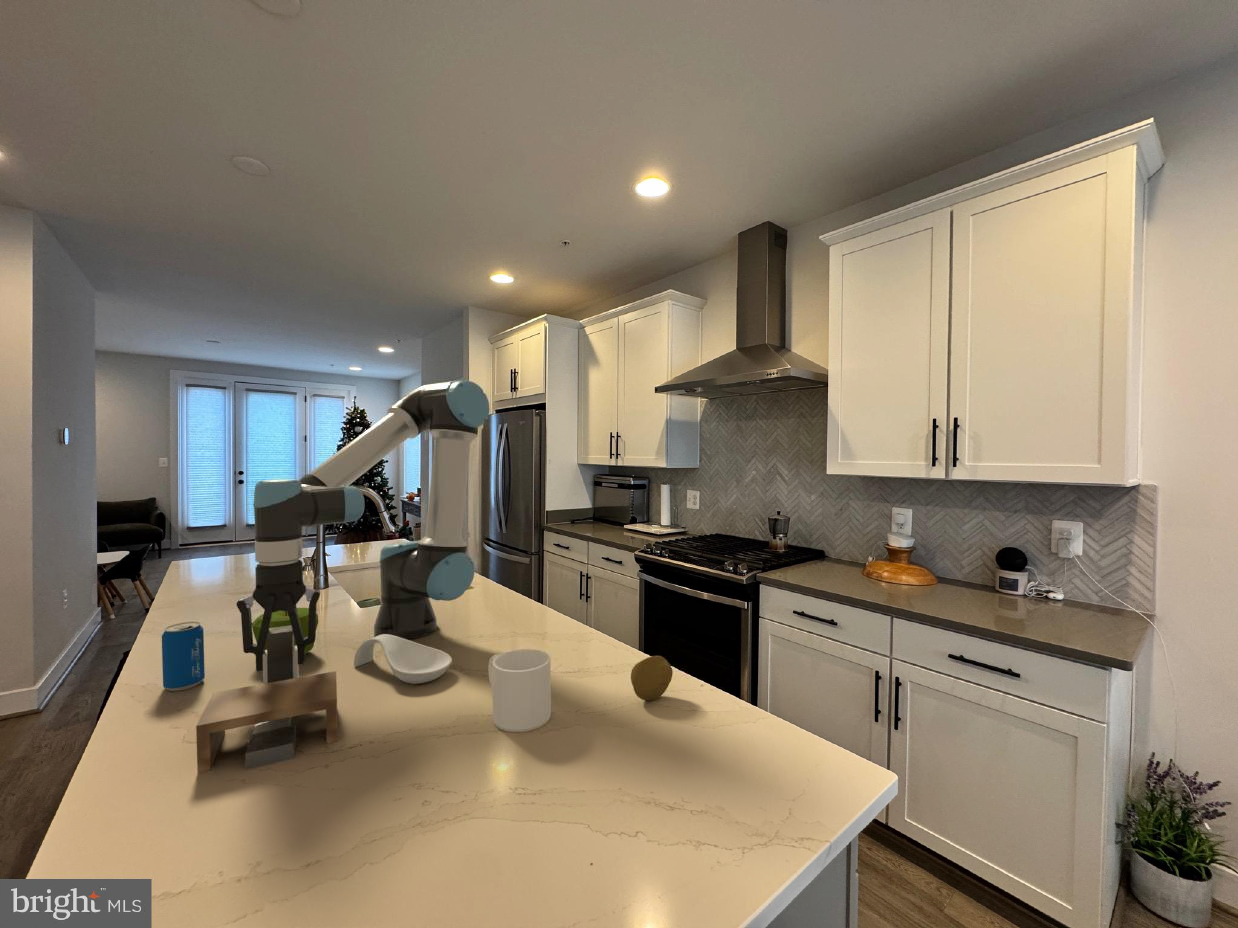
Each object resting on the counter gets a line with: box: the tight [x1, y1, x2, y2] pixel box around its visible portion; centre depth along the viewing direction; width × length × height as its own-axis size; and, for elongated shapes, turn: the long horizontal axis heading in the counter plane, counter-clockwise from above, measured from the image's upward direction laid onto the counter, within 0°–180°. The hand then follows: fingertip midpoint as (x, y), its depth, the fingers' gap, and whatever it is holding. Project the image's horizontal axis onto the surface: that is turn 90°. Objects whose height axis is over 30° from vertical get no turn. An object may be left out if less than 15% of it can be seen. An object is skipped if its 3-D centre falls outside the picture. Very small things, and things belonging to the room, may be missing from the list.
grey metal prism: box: [251, 625, 294, 734], centre depth 94 cm, size 5×20×12 cm, turn 28°
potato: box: [630, 655, 674, 702], centre depth 100 cm, size 7×8×8 cm
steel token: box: [244, 724, 297, 770], centre depth 82 cm, size 6×6×2 cm
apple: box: [252, 607, 319, 655], centre depth 121 cm, size 12×12×11 cm
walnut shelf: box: [195, 670, 338, 774], centre depth 87 cm, size 18×12×7 cm, turn 118°
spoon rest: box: [353, 634, 453, 685], centre depth 112 cm, size 24×12×7 cm, turn 65°
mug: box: [487, 648, 552, 733], centre depth 94 cm, size 13×10×10 cm
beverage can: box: [161, 621, 206, 692], centre depth 106 cm, size 6×6×12 cm
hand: (281, 683), depth 101 cm, fingers closed on grey metal prism, 4 cm apart
